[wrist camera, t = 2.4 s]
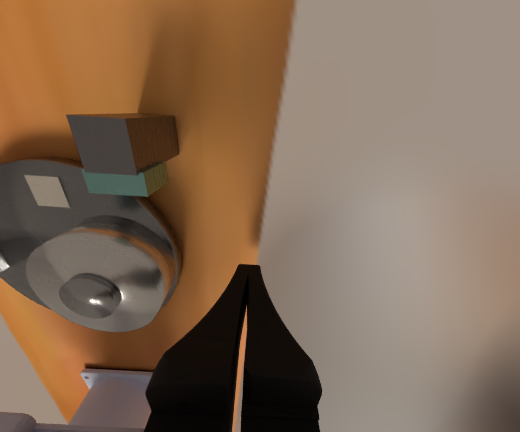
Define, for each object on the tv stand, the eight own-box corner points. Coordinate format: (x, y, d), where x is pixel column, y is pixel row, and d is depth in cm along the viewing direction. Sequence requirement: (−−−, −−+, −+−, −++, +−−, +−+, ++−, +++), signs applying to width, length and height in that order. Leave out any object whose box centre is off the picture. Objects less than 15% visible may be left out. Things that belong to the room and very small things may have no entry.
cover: (182, 301, 15) (163, 344, 13) (87, 296, 15) (47, 338, 12) (168, 218, 12) (140, 251, 9) (49, 211, 12) (-16, 242, 9)
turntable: (189, 317, 18) (172, 365, 14) (17, 308, 17) (-41, 354, 14) (167, 164, 12) (130, 185, 8) (-94, 148, 12) (-237, 162, 8)
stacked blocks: (184, 170, 12) (146, 197, 8) (143, 167, 12) (87, 193, 8) (178, 116, 11) (130, 118, 7) (132, 113, 11) (60, 114, 7)
